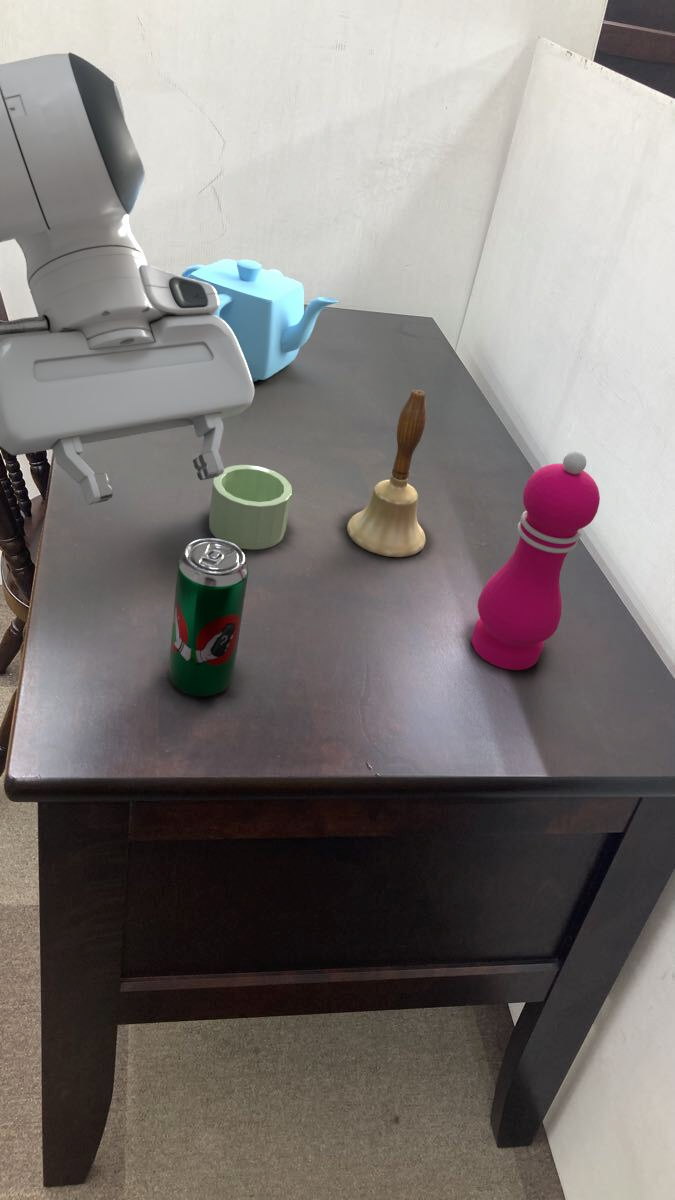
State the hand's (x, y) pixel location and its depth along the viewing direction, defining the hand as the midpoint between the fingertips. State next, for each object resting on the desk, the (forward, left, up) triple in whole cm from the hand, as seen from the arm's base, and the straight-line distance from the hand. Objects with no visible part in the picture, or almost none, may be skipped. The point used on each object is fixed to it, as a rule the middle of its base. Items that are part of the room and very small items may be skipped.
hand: (158, 488), depth 67 cm
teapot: (+29, +49, -13) cm, 58 cm away
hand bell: (+28, +8, -13) cm, 32 cm away
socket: (+14, +12, -13) cm, 23 cm away
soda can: (+2, -7, -13) cm, 15 cm away
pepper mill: (+30, -11, -13) cm, 34 cm away
